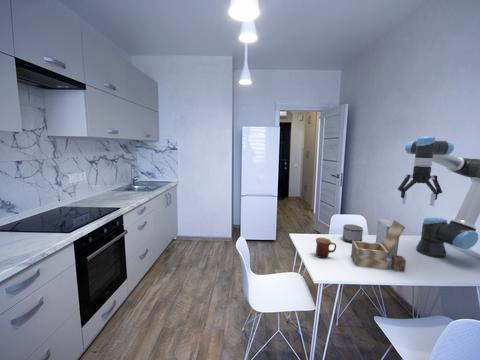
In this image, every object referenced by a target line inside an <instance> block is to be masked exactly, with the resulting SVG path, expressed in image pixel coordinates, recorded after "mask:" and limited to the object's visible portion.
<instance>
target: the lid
mask: <svg viewBox="0 0 480 360" xmlns="http://www.w3.org/2000/svg"><path fill="white" fill-rule="evenodd" d="M392 222H393V224H392V225H391V227H390V229H389V231H388V232H387V234H386V236H385V238H384V240H383V241H382V244H383V246H384V247H385V248H386V249H387V250H388V251H389V252H391V251H392V249H393V248H394V246H395V244H396V242H397V241H398V239H399V240H400V237H401V236H402V234H403V232H404V230H405V229H406V226H405V225H402V223H400V222H399V221H398V220H395V219H394V221H392Z"/></svg>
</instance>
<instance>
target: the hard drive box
mask: <svg viewBox="0 0 480 360" xmlns="http://www.w3.org/2000/svg"><path fill="white" fill-rule="evenodd" d="M393 222H394V221H392V220H390V219H381V218H380V219H377V226H376V227H377V229H376V236H375V243H378V244H382V241H383V240H384V238H385V236H386V234H387V232H388V231H389V229H390V227H391V225H392V224H393ZM399 242H400V238H399V239H398V241H397V242H396V244H395V246H394V248H393V249H392V251H391V252H389V251H388V250H387V249H386V248H385V247H384V248H385V249H386V250H387V251H388V252H389V254H388V258H390V259H392V255H397V256H398V250H399ZM382 245H383V244H382Z"/></svg>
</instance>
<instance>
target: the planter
mask: <svg viewBox="0 0 480 360" xmlns="http://www.w3.org/2000/svg"><path fill="white" fill-rule="evenodd" d="M363 233H364V227H362V226H361V225H357V224H352V223H349V224H348V223H347V224H346V223H345V224H344V225H343V229H342V239H343V240H344V241H345V242H349V243H351V244H352V241H359V242H363V235H364V234H363Z"/></svg>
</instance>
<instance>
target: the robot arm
mask: <svg viewBox="0 0 480 360" xmlns="http://www.w3.org/2000/svg"><path fill="white" fill-rule="evenodd" d="M416 139H417V140H414V141H413V140H412V141H409V142H407V143H406V145H405V148H404V149H405V152H406V153H407V154H410V155H415V156H414V163H413V164H414V166H413V171H412V174H408V173H406V174H405V177H404V179H403V180H402V182H401V183H400V185H399V186H398V188H397V191H399V192H401V193H400V198H402V200H401V204H403V205H406V204H407V203H406V202H407V196H408V195H407V194H408V193H407V191H408V190H409V189H410V188H411V187H413V186H414V185H415V184H425V185H426V186H427V187H428V188H429V190H430V191H431V192H432V193H430V201H429V206H431V207H435V202H436V201H437V199H438V195H440V194H442V193H443V191H442V188H441V185H440V183H439V181H438V175H435V174H432V175H431V173H432V167H431V166H433V163H435V164H437V165H440V166H443V167H445V168H446V169H447V170H448V171H450V172H453V173H455V174H457V175H460V176H463V177H466V178H470V181H471V185H470V187H469V189H468V191H467V193H466V194H465V197H464V199H463V200H462V201H463V202H462V203H461V205H460V207H459V210H458V211H457V213H456V216H455V219H450V221H449V223H448V220H447V219H446V218H445V219H444V218H441V217H440V218H439V217H425V218H424V219H423V221H422V229H421V236H420V240H418V243H417V244H416V247H415V250H416V251H417V253H419V254H422V255H425V256H427V257H431V258H438V259H441V258H443V259H444V258H446V256H447V251H446V248H445V247H446V246H445V244H448V245H451V246H453V247H456V248H458V249H463V250H468V249H471V248H473V247H475V245H476V244H477V243H478V242H479V234H478V232H476V231H477V228H476V222H477V220H478V219H479V217H480V158H464V157H461V156H455V155H453V154H452V153H453V151H454V149H455V146H454V143H453V142H452V141H447V140H436V137H435V136H419V137H417V138H416ZM411 178H412V179H411ZM410 179H411V180H410ZM430 180H431V181H432V183H433V184H432V183H431V181H430ZM409 181H410V182H409ZM408 182H409V183H408Z"/></svg>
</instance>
